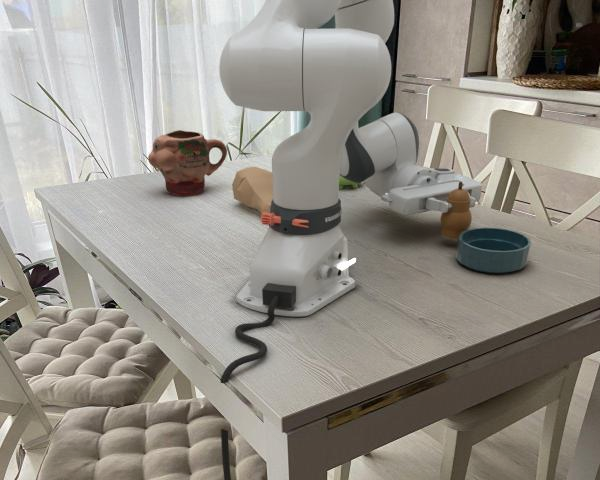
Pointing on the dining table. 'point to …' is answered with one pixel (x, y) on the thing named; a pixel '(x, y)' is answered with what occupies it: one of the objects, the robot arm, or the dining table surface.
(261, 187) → the squash
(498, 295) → the dining table surface
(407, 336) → the dining table surface
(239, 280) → the dining table surface
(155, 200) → the dining table surface
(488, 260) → the bowl
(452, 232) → the pear
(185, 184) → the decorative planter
